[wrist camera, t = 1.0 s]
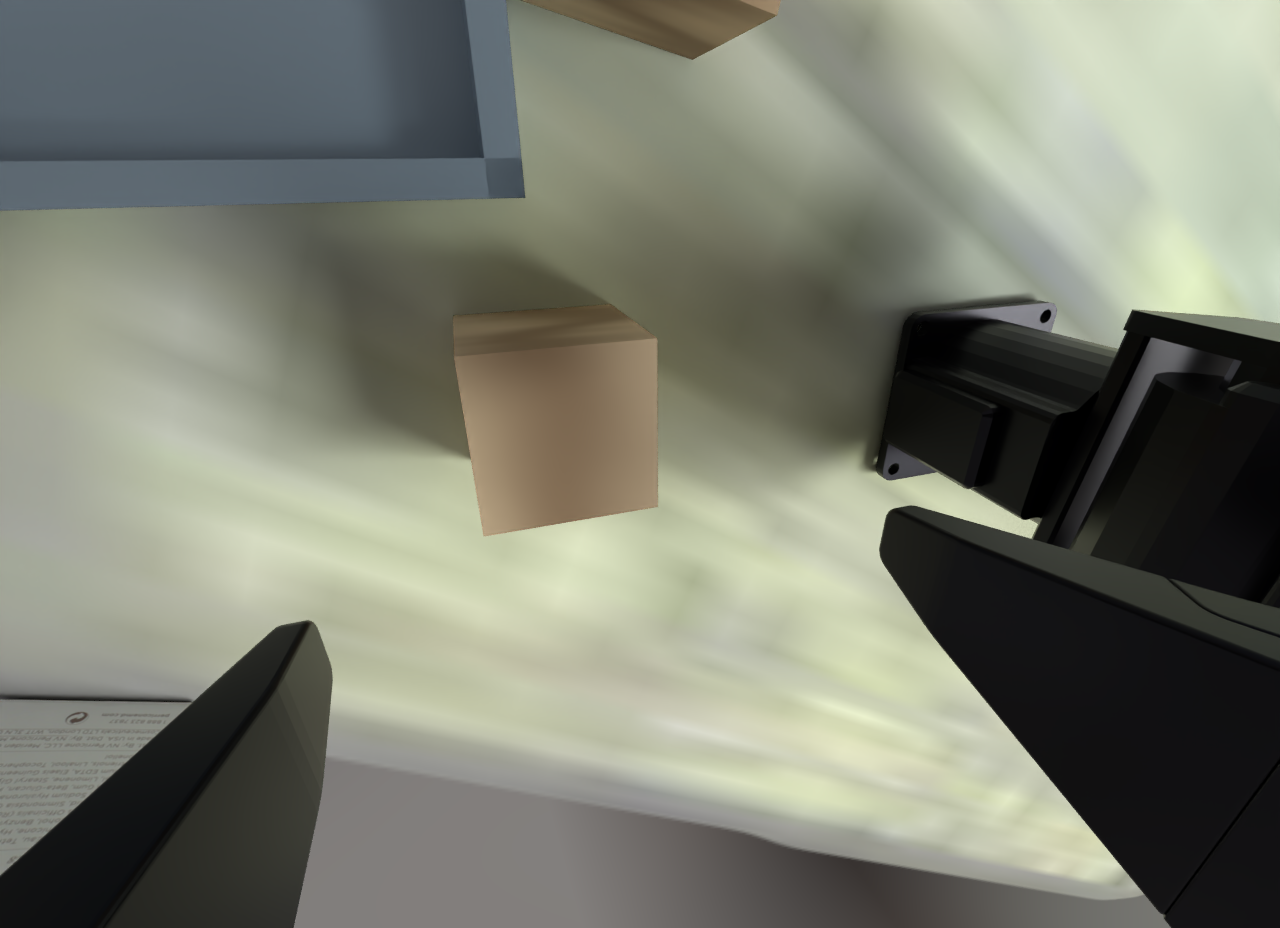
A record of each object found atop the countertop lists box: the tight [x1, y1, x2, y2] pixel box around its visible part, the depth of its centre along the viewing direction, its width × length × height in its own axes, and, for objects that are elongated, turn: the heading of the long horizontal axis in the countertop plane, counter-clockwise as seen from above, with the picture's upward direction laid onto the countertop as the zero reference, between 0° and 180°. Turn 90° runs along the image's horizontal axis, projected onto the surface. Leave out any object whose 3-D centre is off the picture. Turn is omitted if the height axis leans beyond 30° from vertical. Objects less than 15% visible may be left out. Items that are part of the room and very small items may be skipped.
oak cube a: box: [453, 304, 658, 536], centre depth 15 cm, size 4×4×4 cm
